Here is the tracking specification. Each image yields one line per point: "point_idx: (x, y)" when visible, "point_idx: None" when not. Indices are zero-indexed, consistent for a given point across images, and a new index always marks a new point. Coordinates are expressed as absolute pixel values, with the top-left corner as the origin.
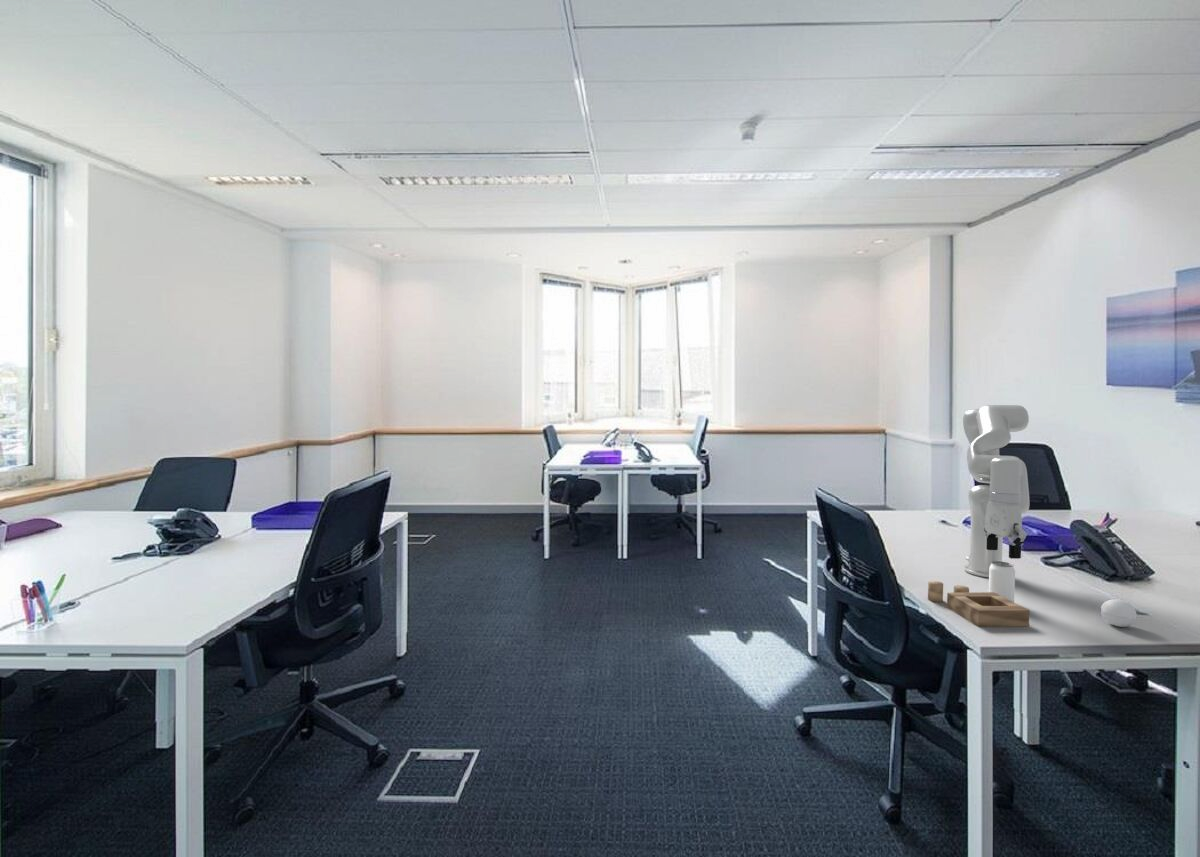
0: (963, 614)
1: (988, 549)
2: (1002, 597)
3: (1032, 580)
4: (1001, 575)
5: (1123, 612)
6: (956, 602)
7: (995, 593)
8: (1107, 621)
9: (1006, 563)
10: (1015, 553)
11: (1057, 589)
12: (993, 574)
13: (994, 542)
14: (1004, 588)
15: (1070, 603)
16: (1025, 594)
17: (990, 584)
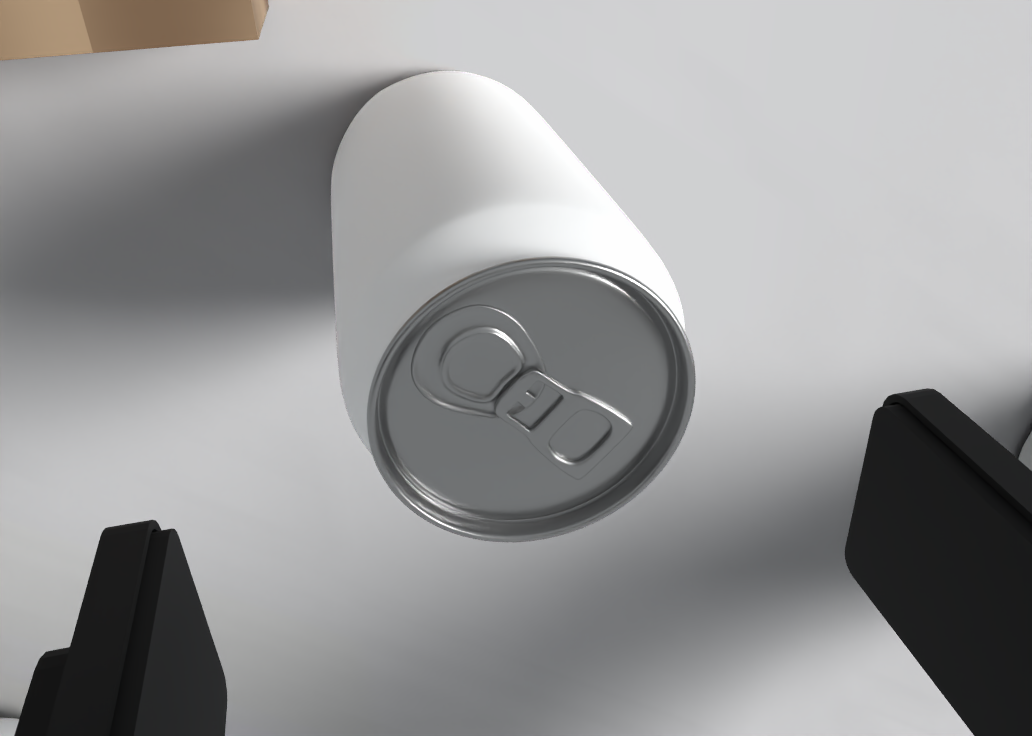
0: None
1: (881, 407)
2: (24, 27)
3: None
4: (359, 258)
5: None
6: None
7: (204, 27)
8: (2, 719)
9: (607, 494)
10: (41, 711)
11: (729, 705)
12: (450, 179)
13: (959, 633)
14: (337, 221)
15: (454, 669)
16: (648, 486)
17: (479, 119)
